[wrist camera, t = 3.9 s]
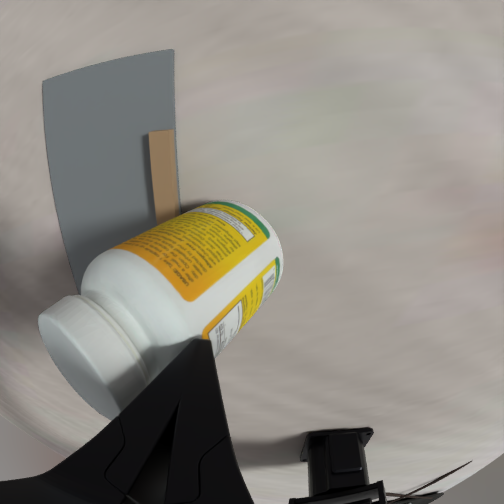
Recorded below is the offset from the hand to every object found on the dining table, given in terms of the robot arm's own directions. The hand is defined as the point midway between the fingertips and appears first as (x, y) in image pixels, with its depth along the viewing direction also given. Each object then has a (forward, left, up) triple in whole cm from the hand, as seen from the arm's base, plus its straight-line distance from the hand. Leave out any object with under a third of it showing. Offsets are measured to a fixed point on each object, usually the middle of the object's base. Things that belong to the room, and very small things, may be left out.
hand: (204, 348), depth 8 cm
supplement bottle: (0, 0, -7) cm, 7 cm away
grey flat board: (-1, +7, -8) cm, 11 cm away
